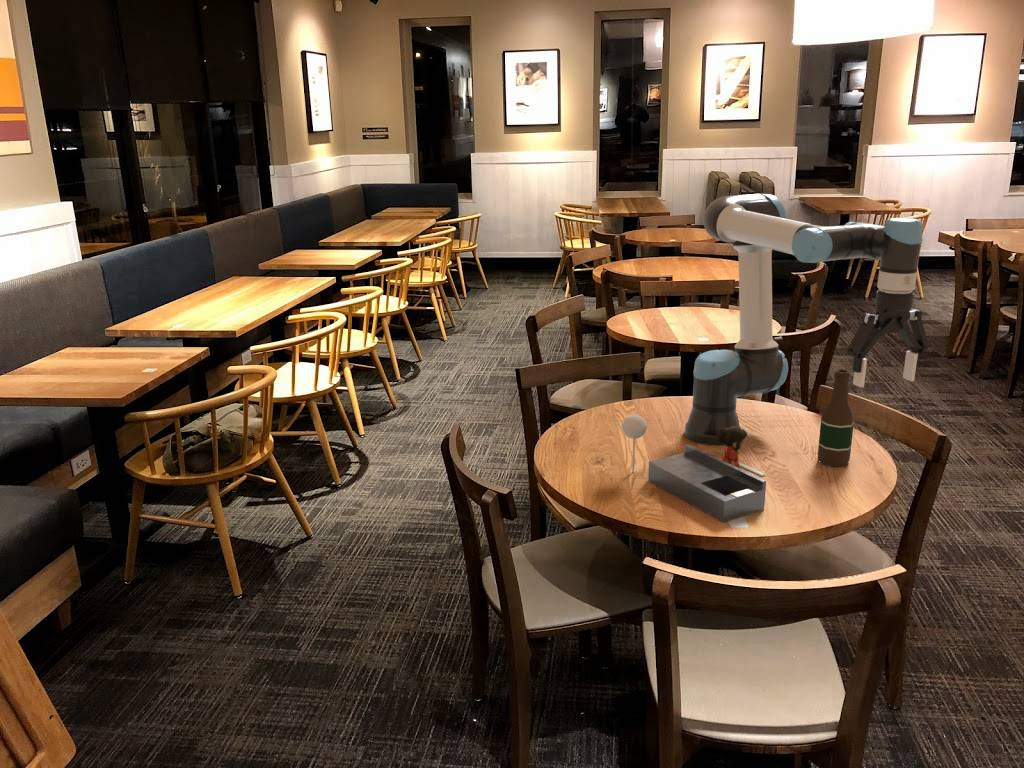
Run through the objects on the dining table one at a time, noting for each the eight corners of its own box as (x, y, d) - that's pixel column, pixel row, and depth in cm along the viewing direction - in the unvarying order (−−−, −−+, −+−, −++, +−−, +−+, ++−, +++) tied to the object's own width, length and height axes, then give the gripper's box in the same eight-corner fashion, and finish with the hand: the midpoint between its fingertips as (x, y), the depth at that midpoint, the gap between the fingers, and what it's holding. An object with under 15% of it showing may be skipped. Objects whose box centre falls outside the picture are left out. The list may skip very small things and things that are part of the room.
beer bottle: (852, 468, 202) (862, 375, 195) (819, 466, 204) (828, 374, 197) (846, 456, 209) (856, 367, 202) (814, 455, 211) (823, 365, 204)
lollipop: (647, 469, 204) (649, 412, 200) (643, 478, 199) (645, 420, 195) (623, 466, 206) (624, 410, 202) (618, 475, 201) (619, 418, 197)
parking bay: (695, 470, 203) (695, 468, 203) (731, 460, 209) (731, 458, 209) (727, 486, 194) (727, 484, 193) (765, 475, 199) (765, 474, 199)
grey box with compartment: (648, 480, 198) (649, 453, 196) (686, 470, 203) (687, 444, 201) (723, 522, 176) (725, 492, 174) (764, 509, 181) (766, 480, 179)
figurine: (728, 479, 197) (731, 433, 194) (713, 471, 202) (715, 426, 198) (748, 474, 200) (751, 428, 196) (732, 466, 205) (735, 421, 201)
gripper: (859, 297, 172) (848, 393, 178) (955, 289, 179) (941, 381, 185) (836, 291, 179) (826, 383, 185) (929, 283, 185) (916, 372, 192)
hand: (883, 382), depth 185 cm, fingers open, 13 cm apart
